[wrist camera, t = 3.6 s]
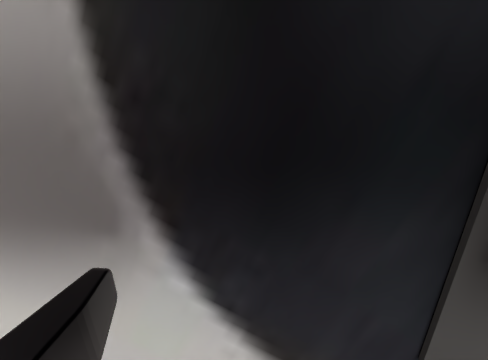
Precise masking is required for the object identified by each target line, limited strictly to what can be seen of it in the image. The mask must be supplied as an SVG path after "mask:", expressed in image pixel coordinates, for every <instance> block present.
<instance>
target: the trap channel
mask: <svg viewBox="0 0 488 360" xmlns="http://www.w3.org/2000/svg"><path fill="white" fill-rule="evenodd" d="M418 360H488V163H487V166H486V169H485V172H484V175H483V178H482V180H481V183H480V186H479V189H478V192H477V194H476V197H475V200H474V203H473V206H472V209H471V211H470V214H469V217H468V220H467V223H466V226H465V228H464V231H463V234H462V237H461V240H460V242H459V245H458V248H457V251H456V254H455V257H454V259H453V262H452V265H451V268H450V271H449V273H448V276H447V279H446V282H445V285H444V288H443V290H442V293H441V296H440V299H439V302H438V305H437V307H436V310H435V313H434V316H433V319H432V321H431V324H430V327H429V330H428V333H427V336H426V338H425V341H424V344H423V347H422V350H421V353H420V355H419V358H418Z"/></svg>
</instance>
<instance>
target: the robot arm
mask: <svg viewBox="0 0 488 360" xmlns="http://www.w3.org/2000/svg"><path fill="white" fill-rule="evenodd" d="M116 302H117V291H116V287H115V283H114V279H113V275H112V272H111V270H110V269H108V268H92V269H90V270H89V271H88V272H86V273H85V274H84V275H82V276H81V277H80V278H79V279H77V280H76V281H75V282H73V283H72V284H71V285H69V286H68V287H67V288H66V289H64V290H63V291H62V292H60V293H59V294H58V295H57V296H55V297H54V298H53V299H51V300H50V301H49V302H48V303H46V304H45V305H44V306H42V307H41V308H40V309H39V310H37V311H36V312H35V313H33V314H32V315H31V316H30V317H28V318H27V319H26V320H24V321H23V322H22V323H21V324H19V325H18V326H17V327H15V328H14V329H13V330H12V331H10V332H9V333H8V334H6V335H5V336H4V337H3V338H1V339H0V360H101V358H102V355H103V351H104V347H105V344H106V340H107V336H108V332H109V329H110V325H111V321H112V317H113V314H114V310H115V306H116Z"/></svg>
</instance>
